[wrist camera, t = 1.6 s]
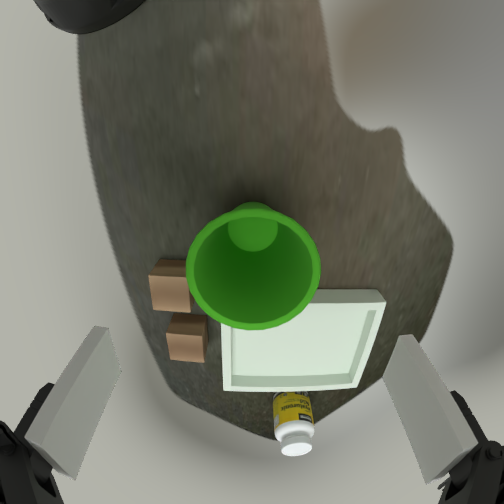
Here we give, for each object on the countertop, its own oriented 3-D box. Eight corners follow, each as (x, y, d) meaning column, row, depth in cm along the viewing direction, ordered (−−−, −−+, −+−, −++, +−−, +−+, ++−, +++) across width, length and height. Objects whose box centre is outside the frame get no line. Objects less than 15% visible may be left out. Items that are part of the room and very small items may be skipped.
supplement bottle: (312, 385, 38) (323, 440, 29) (302, 407, 40) (310, 458, 31) (276, 383, 38) (281, 440, 29) (269, 405, 40) (271, 458, 31)
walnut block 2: (174, 312, 33) (165, 333, 29) (206, 315, 33) (201, 336, 29) (177, 338, 35) (170, 359, 31) (208, 340, 35) (204, 362, 31)
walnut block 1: (159, 258, 30) (148, 275, 27) (195, 260, 31) (187, 277, 27) (163, 290, 32) (153, 309, 28) (196, 292, 32) (190, 312, 28)
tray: (223, 286, 32) (220, 301, 29) (376, 289, 32) (386, 302, 29) (225, 374, 37) (223, 390, 34) (351, 372, 37) (356, 387, 34)
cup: (244, 282, 31) (241, 349, 21) (190, 217, 29) (157, 263, 18) (314, 235, 29) (344, 288, 19) (262, 163, 27) (268, 178, 16)
